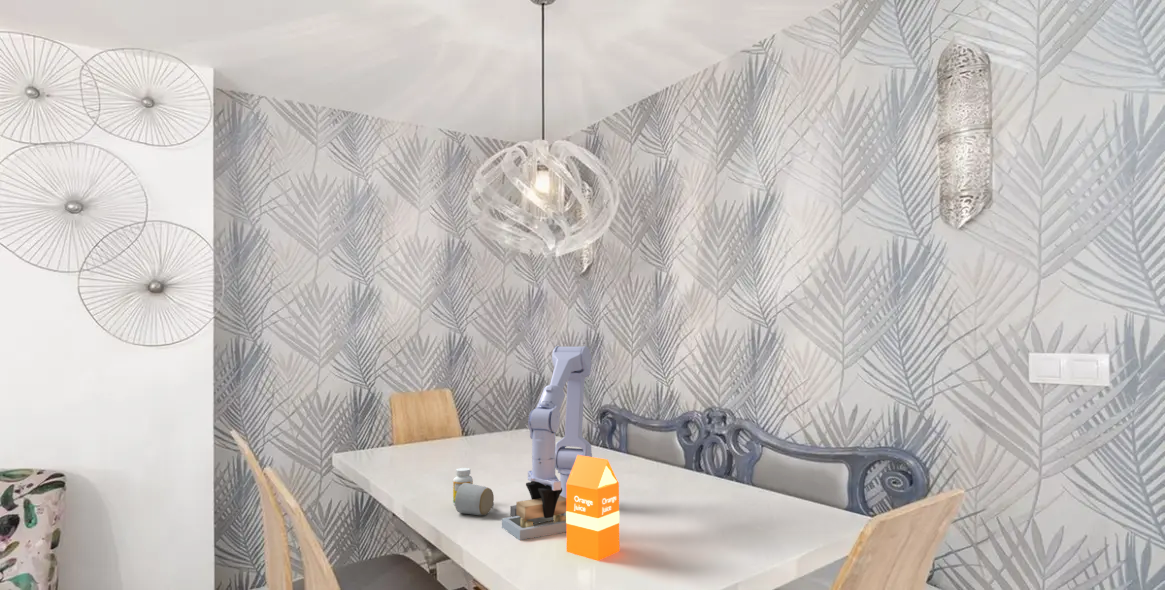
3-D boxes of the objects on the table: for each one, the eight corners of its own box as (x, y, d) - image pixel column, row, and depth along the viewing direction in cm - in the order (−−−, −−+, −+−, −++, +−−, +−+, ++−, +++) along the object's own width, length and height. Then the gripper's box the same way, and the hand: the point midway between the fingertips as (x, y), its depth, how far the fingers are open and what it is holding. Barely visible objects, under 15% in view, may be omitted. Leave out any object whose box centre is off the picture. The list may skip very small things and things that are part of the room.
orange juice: (588, 542, 134) (588, 452, 135) (620, 551, 128) (619, 456, 130) (565, 551, 128) (565, 457, 129) (597, 561, 122) (597, 462, 124)
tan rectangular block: (560, 507, 149) (560, 495, 150) (569, 512, 145) (569, 499, 145) (516, 514, 143) (516, 501, 144) (524, 519, 139) (525, 506, 139)
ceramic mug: (481, 519, 151) (482, 488, 152) (453, 516, 154) (454, 485, 155) (501, 509, 161) (501, 480, 162) (474, 506, 164) (475, 478, 165)
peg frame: (564, 517, 153) (564, 507, 153) (585, 528, 144) (585, 517, 144) (501, 527, 144) (501, 517, 145) (519, 540, 135) (519, 529, 135)
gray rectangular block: (538, 511, 158) (538, 501, 158) (543, 514, 156) (543, 504, 156) (510, 515, 154) (510, 506, 154) (515, 518, 152) (515, 508, 152)
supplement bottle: (465, 507, 162) (466, 471, 163) (449, 505, 164) (449, 470, 165) (475, 502, 167) (476, 468, 168) (459, 500, 169) (460, 466, 170)
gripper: (516, 454, 150) (516, 509, 149) (542, 464, 137) (542, 524, 136) (541, 451, 153) (541, 505, 152) (568, 461, 141) (568, 520, 140)
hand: (543, 514), depth 144 cm, fingers closed on tan rectangular block, 5 cm apart
